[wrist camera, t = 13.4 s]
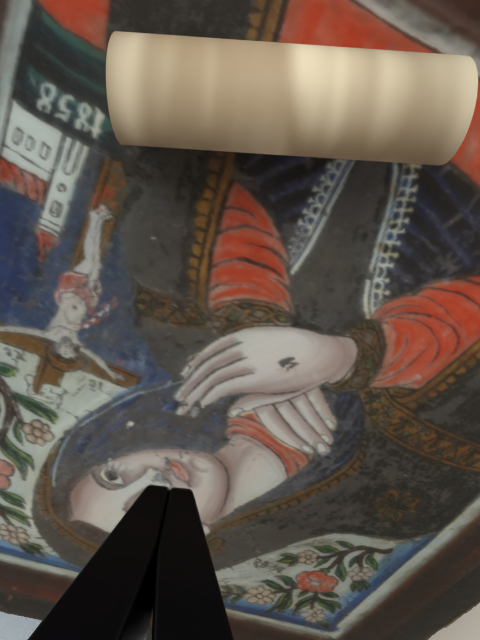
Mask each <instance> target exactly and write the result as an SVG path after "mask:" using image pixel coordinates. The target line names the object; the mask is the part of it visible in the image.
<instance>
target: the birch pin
mask: <svg viewBox="0 0 480 640" xmlns="http://www.w3.org/2000/svg"><path fill="white" fill-rule="evenodd" d="M106 90H107V101H108V109H109V114H110V119H111V124H112V128H113V131H114V134H115V136H116V138H117V140H118V142H119V143H120V144H122V145H134V146H150V147H165V148H180V149H196V150H211V151H226V152H242V153H257V154H272V155H288V156H303V157H318V158H334V159H349V160H364V161H380V162H395V163H410V164H426V165H443V164H445V163H447V162H448V161H449V160H450V159H451V158H452V157H453V156H454V155H455V154H456V152H457V151H458V149H459V148H460V146H461V144H462V142H463V140H464V138H465V136H466V134H467V131H468V129H469V126H470V123H471V120H472V117H473V113H474V109H475V105H476V99H477V91H478V72H477V67H476V64H475V62H474V60H473V59H472V58H471V57H470V56H465V55H450V54H436V53H422V52H407V51H393V50H379V49H364V48H350V47H335V46H321V45H307V44H292V43H278V42H264V41H249V40H235V39H221V38H206V37H192V36H178V35H163V34H149V33H134V32H120V31H114V32H113V33H112V35H111V37H110V40H109V43H108V48H107V57H106Z"/></svg>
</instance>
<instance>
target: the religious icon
mask: <svg viewBox="0 0 480 640" xmlns="http://www.w3.org/2000/svg"><path fill="white" fill-rule="evenodd" d="M114 31H120V32H134V33H149V34H163V35H178V36H192V37H206V38H221V39H235V40H249V41H264V42H278V43H292V44H307V45H321V46H335V47H350V48H364V49H379V50H393V51H407V52H422V53H436V54H450V55H465V56H470V57H471V58H472V59H473V60H474V62H475V64H476V67H477V72H478V91H477V99H476V105H475V109H474V113H473V117H472V120H471V123H470V126H469V129H468V131H467V134H466V136H465V138H464V140H463V142H462V144H461V146H460V148H459V149H458V151H457V152H456V154H455V155H454V156H453V157H452V158H451V159H450V160H449V161H448V162H447V163H445V164H443V165H426V164H410V163H395V162H380V161H364V160H349V159H334V158H318V157H303V156H288V155H272V154H257V153H242V152H226V151H211V150H196V149H180V148H165V147H150V146H134V145H122V144H120V143H119V142H118V140H117V138H116V136H115V134H114V131H113V128H112V124H111V119H110V114H109V109H108V101H107V90H106V57H107V48H108V43H109V40H110V37H111V35H112V33H113V32H114ZM148 485H159V486H167V487H168V488H169V489H171V488H173V487H178V488H188V489H191V490H192V491H193V493H194V497H195V500H196V504H197V507H198V511H199V515H200V518H201V522H202V526H203V529H204V533H205V536H206V540H207V544H208V547H209V551H210V554H211V558H212V562H213V565H214V569H215V573H216V576H217V580H218V583H219V587H220V591H221V594H222V598H223V602H224V605H225V609H226V612H227V616H228V620H229V623H230V627H231V630H232V634H233V638H234V640H428V639H429V638H430V637H431V636H432V635H434V634H435V633H436V632H437V631H439V630H440V629H442V628H445V627H447V626H449V625H450V624H452V623H453V622H454V621H456V620H457V619H458V618H459V617H461V616H462V615H463V614H465V613H467V612H468V611H470V610H471V609H472V608H473V607H475V606H476V605H477V604H478V603H480V0H0V611H1V612H4V613H7V614H14V615H18V616H24V617H29V618H33V619H38V620H41V621H43V619H44V618H45V617H46V615H47V614H48V613H49V612H50V610H51V609H52V608H53V606H54V605H55V604H56V603H57V601H58V600H59V599H60V597H61V596H62V595H63V593H64V592H65V591H66V590H67V588H68V587H69V586H70V584H71V583H72V582H73V581H74V579H75V578H76V577H77V575H78V574H79V573H80V572H81V570H82V569H83V568H84V566H85V565H86V564H87V562H88V561H89V560H90V559H91V557H92V556H93V555H94V553H95V552H96V551H97V550H98V548H99V547H100V546H101V544H102V543H103V542H104V541H105V539H106V538H107V537H108V535H109V534H110V533H111V532H112V530H113V529H114V528H115V526H116V525H117V524H118V522H119V521H120V520H121V519H122V517H123V516H124V515H125V513H126V512H127V511H128V510H129V508H130V507H131V506H132V504H133V503H134V502H135V501H136V499H137V498H138V497H139V495H140V494H141V493H142V491H143V490H144V489H145V488H146V487H147V486H148ZM152 617H153V612H152ZM152 617H151V621H150V626H149V630H148V633H147V637H146V640H151V635H152Z"/></svg>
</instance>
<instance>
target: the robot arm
mask: <svg viewBox="0 0 480 640" xmlns="http://www.w3.org/2000/svg"><path fill="white" fill-rule="evenodd" d="M152 612H153V617H152ZM151 617H152V635H151V640H234V638H233V634H232V630H231V627H230V623H229V620H228V616H227V612H226V609H225V605H224V602H223V598H222V594H221V591H220V587H219V583H218V580H217V576H216V573H215V569H214V565H213V562H212V558H211V554H210V551H209V547H208V544H207V540H206V536H205V533H204V529H203V526H202V522H201V518H200V515H199V511H198V507H197V504H196V500H195V497H194V493H193V491H192V490H191V489H188V488H178V487H173V488H171V489H169V488H168V487H167V486H159V485H148V486H147V487H146V488H145V489H144V490H143V491H142V493H141V494H140V495H139V497H138V498H137V499H136V501H135V502H134V503H133V504H132V506H131V507H130V508H129V510H128V511H127V512H126V513H125V515H124V516H123V517H122V519H121V520H120V521H119V522H118V524H117V525H116V526H115V528H114V529H113V530H112V532H111V533H110V534H109V535H108V537H107V538H106V539H105V541H104V542H103V543H102V544H101V546H100V547H99V548H98V550H97V551H96V552H95V553H94V555H93V556H92V557H91V559H90V560H89V561H88V562H87V564H86V565H85V566H84V568H83V569H82V570H81V572H80V573H79V574H78V575H77V577H76V578H75V579H74V581H73V582H72V583H71V584H70V586H69V587H68V588H67V590H66V591H65V592H64V593H63V595H62V596H61V597H60V599H59V600H58V601H57V603H56V604H55V605H54V606H53V608H52V609H51V610H50V612H49V613H48V614H47V615H46V617H45V618H44V619H43V621H42V622H41V623H40V624H39V626H38V627H37V628H36V630H35V631H34V632H33V634H32V635H31V636H30V637H29V639H28V640H146V637H147V633H148V630H149V626H150V621H151Z"/></svg>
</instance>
